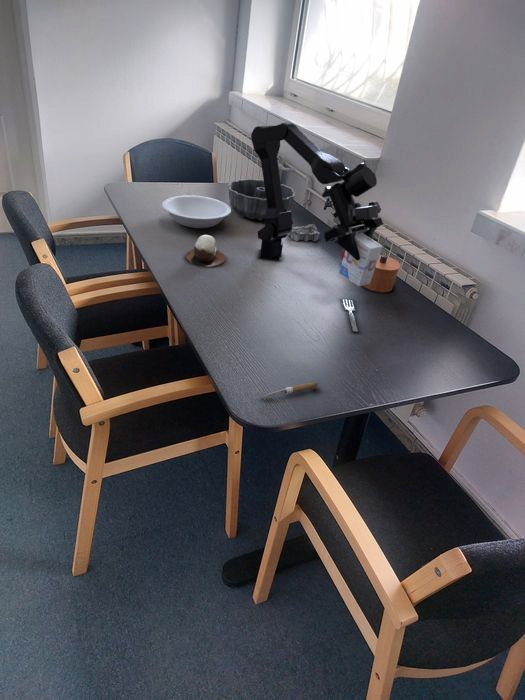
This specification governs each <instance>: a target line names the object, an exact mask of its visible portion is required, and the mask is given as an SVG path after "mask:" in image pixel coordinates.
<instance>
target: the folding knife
mask: <svg viewBox="0 0 525 700" xmlns="http://www.w3.org/2000/svg"><path fill="white" fill-rule="evenodd" d="M318 385H319V382H318V381H314V382H308V383H299V384H296V385H292V386H287V387H285V388H283V389H281V390H276V391H274V392H270V393H268V394H264V395H261V396H260V398H261V399H270V398H274V397H277V396H281V395H284V394H286V395H287V394H288V395H289V394H293V393H299V392H304V391H308V390H317V389H318Z"/></svg>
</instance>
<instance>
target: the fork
mask: <svg viewBox="0 0 525 700" xmlns="http://www.w3.org/2000/svg"><path fill="white" fill-rule="evenodd" d="M353 301H354V300H352V299H351V300H350V299H348V300H347V299H342V304H343V309H344V311H346V312H348V318H349V322H350V328H351V331H352V333H356V334H357V333H358V331H359V330H358V326H357V322H356V319H355V314H354V313H355V312H356V309H355V305H354V302H353Z"/></svg>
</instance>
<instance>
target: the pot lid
mask: <svg viewBox="0 0 525 700" xmlns="http://www.w3.org/2000/svg"><path fill="white" fill-rule="evenodd" d="M401 266H402V265H401V263H400V262H399V261H398V260H396V259H395V258H392V257H390V256H388V255H387V254H380V256H379V259H378V262H377V264H376V267H375V269H379V270H383V271H396V270H398V271H399V270H400V269H401Z"/></svg>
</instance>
